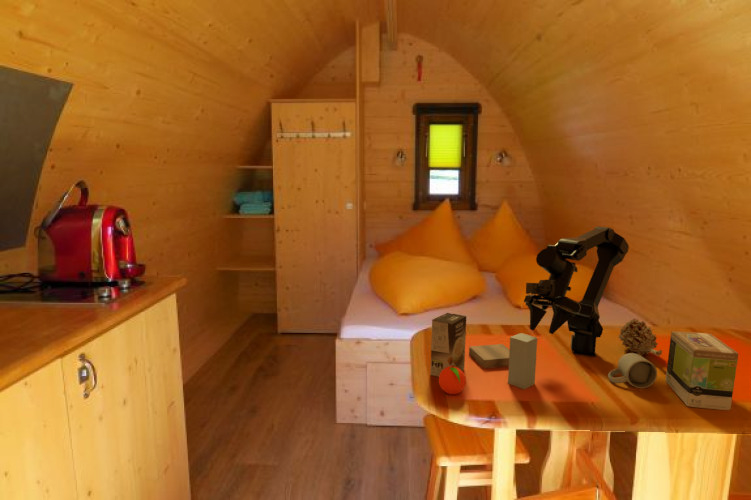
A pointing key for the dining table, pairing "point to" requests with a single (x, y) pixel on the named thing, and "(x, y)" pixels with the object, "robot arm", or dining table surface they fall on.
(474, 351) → the walnut slab
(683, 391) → the tea box
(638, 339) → the pine cone
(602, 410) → the dining table surface
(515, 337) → the wooden block
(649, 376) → the ceramic mug
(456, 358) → the coffee box
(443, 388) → the red tomato
